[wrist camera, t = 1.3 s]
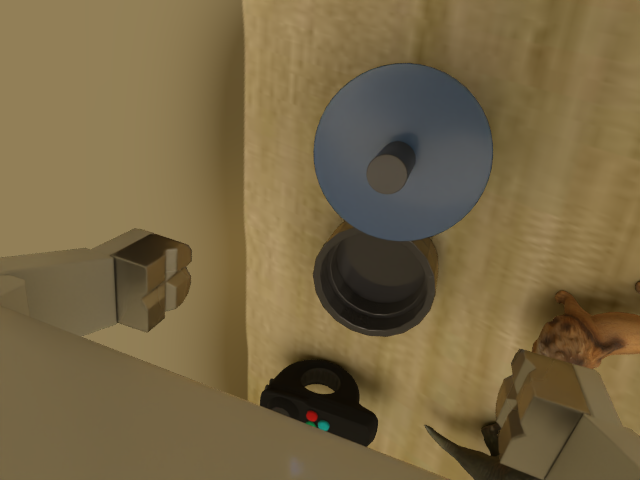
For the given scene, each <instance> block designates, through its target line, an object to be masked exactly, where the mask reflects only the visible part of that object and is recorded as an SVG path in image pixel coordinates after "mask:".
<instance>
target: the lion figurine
mask: <svg viewBox="0 0 640 480" xmlns="http://www.w3.org/2000/svg"><path fill="white" fill-rule="evenodd" d="M636 291H637V292H638V293H639V294H640V281H639V282H638V283H637V284H636ZM555 298H556V301H557V303H562V304H564V309H565V315H559V316H555V317H554V319H553V321H551V322H547V323H546V324H545V326H544V327H543V329H542V331H541V333H540V336H539V338H538V339H537V340H536V341H535V342H534V344H533V347H532V352H533V353H537V354H540V355H544V356H547V357H551V358H554V359H558V360H561V361H565V362H568V363H572V364H575V365H579V366H583V367H586V368H590V369H593V368H597V367H599V365H600V364H601V360H602V359H604V358H605V357H607V356H609V355H614V354H638V353H640V316H639V315H635V314H630V313H624V312H608V313H602V314H596V315H592V316H591V315H590V314H589V313H587V312H586V311H584V310H583V309H582V308H581V307H580V305H579V304H578V303H577V301H576V300H575V298H574V297H573V296H572V295H571V294H569V293H568V292H566V291H559V292H558V293H557V294H556V296H555Z"/></svg>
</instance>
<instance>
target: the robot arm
mask: <svg viewBox="0 0 640 480" xmlns="http://www.w3.org/2000/svg"><path fill="white" fill-rule="evenodd" d="M191 255H192V250H191V248H190V247H189V245H187V244H184V243H181V242H178V241H175V240H172V239H169V238H166V237H163V236H160V235H157V234H154V233H152V232H148V231H145V230H142V229H136V228H135V229H132V230H130V231H128V232H126V233H124V234H122V235H120V236H118V237H116V238H114V239H111V240H110V241H107V242H105V243H103V244H101V245H99V246H97V247H95V248H93V249H91V250H90V249H87V248H80V249H72V250H63V251H54V252H45V253H37V254H28V255H19V256H11V257H1V258H0V480H450V479H448V478H445V477H443V476H440V475H437V474H435V473H432V472H430V471H427V470H425V469H422V468H419V467H417V466H414V465H412V464H409V463H406V462H404V461H401V460H399V459H396V458H393V457H391V456H388V455H386V454H383V453H381V452H378V451H375V450H373V449H370V448H368V447H365V446H362V445H360V444H357V443H355V442H352V441H349V440H347V439H344V438H342V437H339V436H337V435H334V434H331V433H329V432H326V431H324V430H321V429H318V428H316V427H313V426H311V425H308V424H306V423H303V422H300V421H298V420H295V419H293V418H290V417H287V416H285V415H282V414H280V413H277V412H274V411H272V410H269V409H267V408H264V407H262V406H259V405H256V404H254V403H251V402H249V401H246V400H243V399H241V398H238V397H236V396H233V395H230V394H228V393H225V392H223V391H220V390H217V389H215V388H212V387H210V386H207V385H205V384H202V383H200V382H197V381H194V380H192V379H189V378H186V377H184V376H181V375H179V374H176V373H174V372H171V371H169V370H166V369H163V368H161V367H158V366H156V365H153V364H150V363H148V362H145V361H143V360H140V359H138V358H135V357H132V356H130V355H127V354H125V353H122V352H119V351H117V350H114V349H111V348H109V347H107V346H104V345H101V344H99V343H96V342H94V341H91V340H88V339H86V338H83V337H81V336H84V335H87V334H90V333H93V332H95V331H98V330H101V329H104V328H107V327H110V326H113V325H116V324H117V323H120V324H123V325H126V326H129V327H132V328H135V329H138V330H141V331H144V332H149V331H150V330H151V329H152V328H153V327H155V326H156V325H157V324H158V323H159V322H161V321H162V320H163V319H164V318H165V312H166V311H170V310H173V309H176V308H177V307H178V306H180V305H181V304H182V303H183V301H184V299H185V298H186V296H187V294H188V292H189V288H190V284H191V275H190V273H189V272H188V270H187V268H186V266H187V265H188V264H189V263H190V262H191V261H192V256H191ZM511 366H512V373H513V375H511V376H509V377H507V378H505V379H504V380H503V383H502V385H501V387H500V390H499V393H498V397H497V402H496V422H497V423H498V424H499V425H500V427H501V428H502V429H501V431H500V433H499V435H498V448H499V458H500V463H501V464H504V465H506V466H509V467H511V468H514V469H516V470H519V471H521V472H524V473H526V474H529V475H531V476H534V477H536V478H539V479H541V480H640V437H639V436H638V435H637V434H636V433H635V432H634V431H633V430H632V429H629V428H626V427H623V426H622V424H621V421H620V419H619V417H618V415H617V412H616V410H615V408H614V406H613V403H612V401H611V399H610V397H609V394H608V392H607V390H606V388H605V385H604V383H603V381H602V379H601V376H600V374H599V373H598V372H597V371H596V370H594V369H590V368H586V367H583V366H579V365H575V364H572V363H568V362H565V361H561V360H558V359H554V358H551V357H547V356H544V355H540V354H537V353H533V352H530V351H526V350H523V349H519V350H518V352H517V353H516V354H515V356H514V358H513V360H512V363H511Z"/></svg>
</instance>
